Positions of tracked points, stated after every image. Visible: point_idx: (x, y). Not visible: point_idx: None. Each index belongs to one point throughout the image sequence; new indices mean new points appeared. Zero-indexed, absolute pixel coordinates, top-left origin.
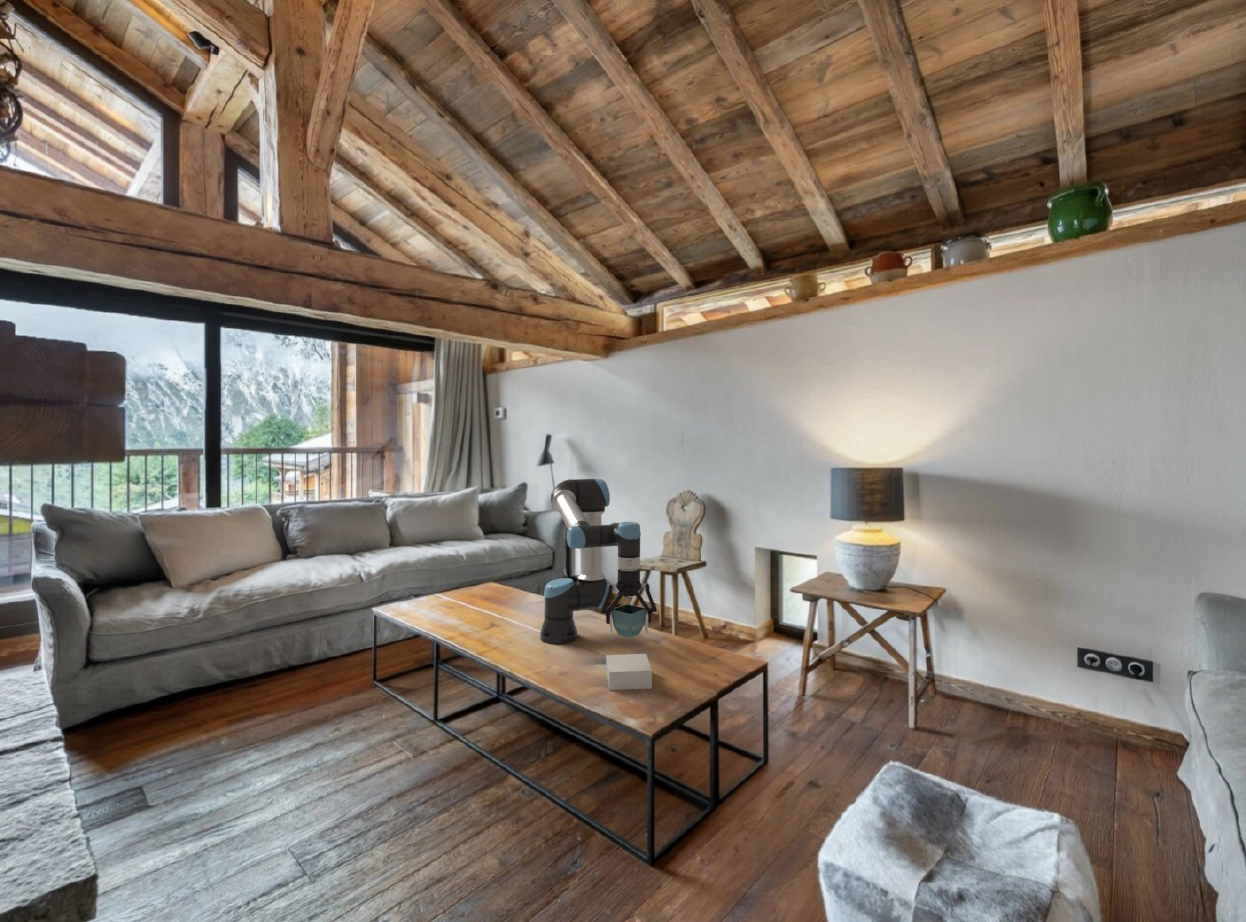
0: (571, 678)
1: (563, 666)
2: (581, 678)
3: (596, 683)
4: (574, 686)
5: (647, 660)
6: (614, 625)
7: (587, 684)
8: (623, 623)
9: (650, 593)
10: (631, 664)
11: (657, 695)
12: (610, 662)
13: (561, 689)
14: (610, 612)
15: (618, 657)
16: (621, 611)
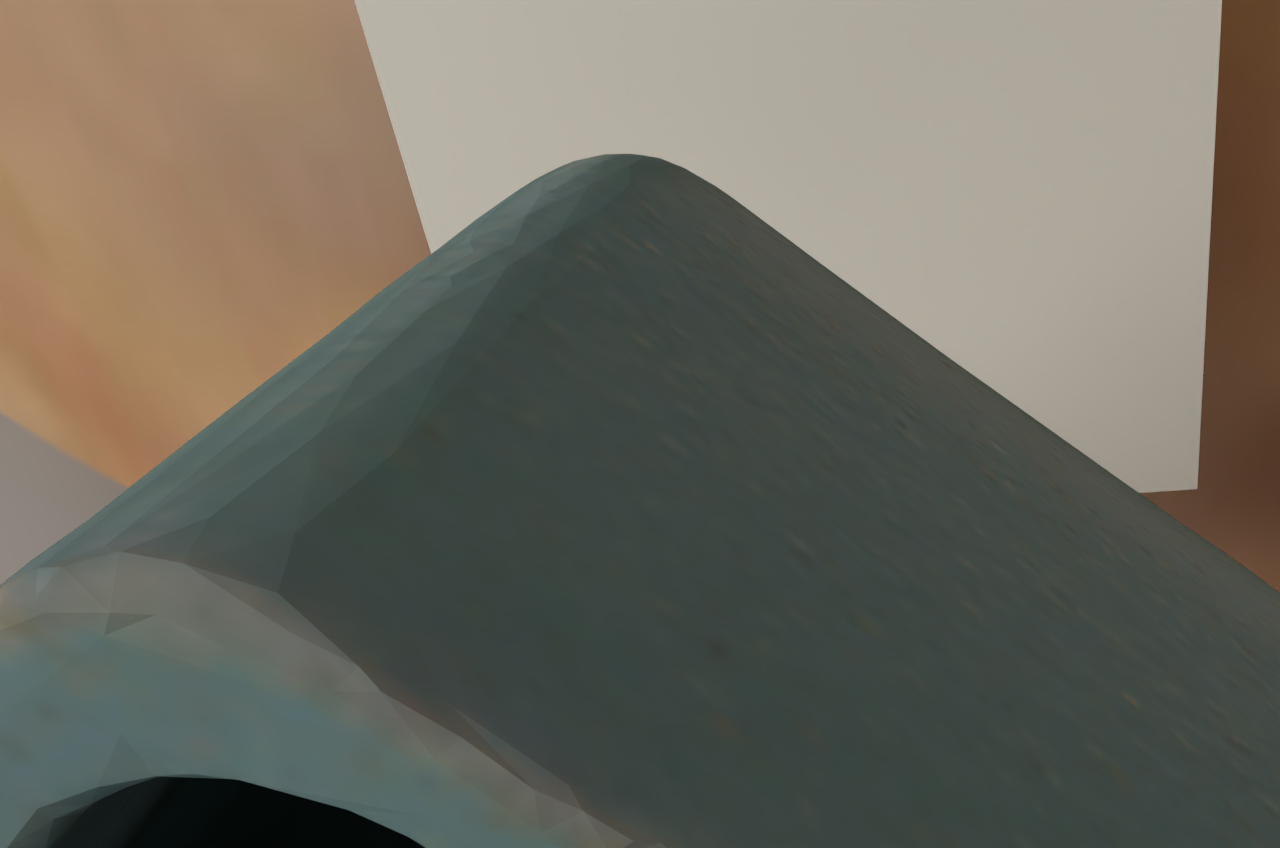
0: (17, 97)
1: None
2: (141, 88)
3: (378, 227)
4: (149, 315)
5: (1200, 68)
6: (232, 798)
7: (277, 259)
8: None
9: None
10: (850, 273)
11: (1176, 508)
12: (467, 204)
13: (46, 388)
14: None
15: None
16: (122, 829)
